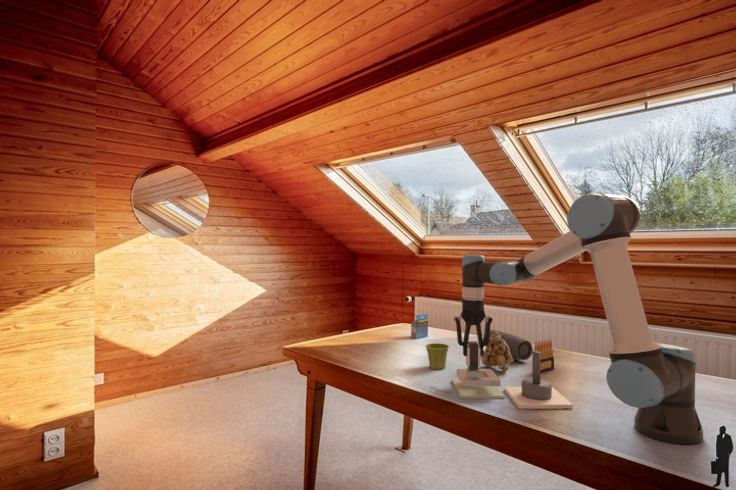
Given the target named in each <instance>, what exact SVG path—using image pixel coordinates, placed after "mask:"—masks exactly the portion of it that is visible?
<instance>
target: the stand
mask: <svg viewBox="0 0 736 490" xmlns="http://www.w3.org/2000/svg"><path fill="white" fill-rule="evenodd" d="M531 358H532V363H531V364H532V371H531V372H532V378H526V379H522V380H521V386H503V389H504V390H503V391H504V392H505V393H506V395H507V396H509V398H510V399H511V401H513V403H514V404H515V405H516V406H517V408H518V409H522V410H523V409H526V408H527V409H528V410H530V409H533V410H534V409H538V410H539V409H548V410H549V409H552V410H554V409H559V410H560V409H564V408H568V410H569V409H572V410H573V408H574V406H573V405H574V404H572V402H570V400H568V399H567V398H566V397H564V396H563V395H562V394H561V393H560V392H559V391H558V390H557V389H556V388H555V387H553V386H552V383H551V382H549V381H547V380H544V379H541V373H540V352H538V351H534V350H533V352H532V355H531ZM564 410H565V409H564Z"/></svg>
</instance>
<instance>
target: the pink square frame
mask: <svg viewBox="0 0 736 490" xmlns="http://www.w3.org/2000/svg"><path fill="white" fill-rule="evenodd" d="M468 346H469V348H470V366H467V368H457V369H456V375H457V379H460V381H461V383H462V385H463V386H497V387H501V386H502V384H501V381H502V380H501V379H500V377H499V376H498V375H497V374H496V372H494V370H493V369H492V368H479V366H478V346H479V344H478V340H477V341H476V340H475V341H471V340H470V341H469V340H468Z"/></svg>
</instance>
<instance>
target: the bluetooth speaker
mask: <svg viewBox="0 0 736 490" xmlns="http://www.w3.org/2000/svg"><path fill="white" fill-rule="evenodd" d="M495 332H498V334H499V335H501V336H500V337H501V339H503V340H505V343H507V345H508V346H509V349H510V353H511V356H512V358H513V361H515V360H520V361H527V360H529V359H530V358H532V352H533V351H534V348H533V346H532V342H530V341H529V340H527V339H525V338H522V337H519V336H518V335H517V336H516V335H515V334H511V333H508V332H504V331H500V330H497V329H490V335H489V338H490V337H491V335H492V334H494V333H495ZM482 338H483V341H484V335H482Z"/></svg>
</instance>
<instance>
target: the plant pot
mask: <svg viewBox="0 0 736 490" xmlns="http://www.w3.org/2000/svg"><path fill="white" fill-rule="evenodd" d="M425 348H426V352H427V357H428V363H429V368H431V369H432V370H437V371H439V370H444V369H446V366H447V364H446V363H447V356H448V351H449V348H450V345H448V344H446V343H440V342H438V343H437V342H433V343H427V344H425Z"/></svg>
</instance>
